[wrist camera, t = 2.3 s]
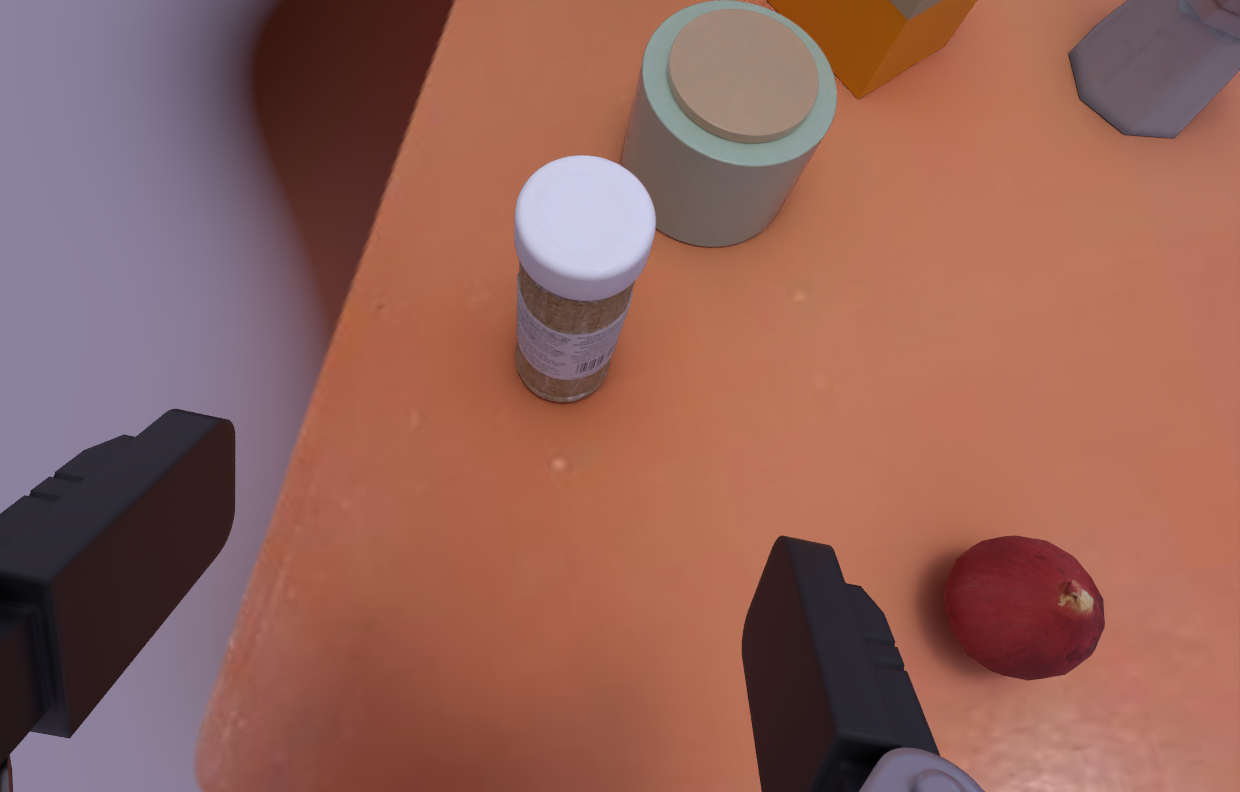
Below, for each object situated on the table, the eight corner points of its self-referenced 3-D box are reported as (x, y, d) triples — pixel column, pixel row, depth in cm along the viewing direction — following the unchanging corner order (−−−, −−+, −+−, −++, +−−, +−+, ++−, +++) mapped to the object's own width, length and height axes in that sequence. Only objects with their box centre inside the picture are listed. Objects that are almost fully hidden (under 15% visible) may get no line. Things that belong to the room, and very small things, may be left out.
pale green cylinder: (595, 208, 40) (614, 108, 33) (653, 79, 43) (682, -39, 36) (757, 272, 40) (813, 188, 33) (804, 139, 43) (864, 34, 36)
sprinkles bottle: (585, 304, 38) (622, 132, 26) (624, 385, 37) (682, 248, 25) (498, 336, 37) (492, 173, 25) (536, 421, 36) (549, 296, 23)
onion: (1030, 561, 37) (1162, 538, 30) (1029, 687, 35) (1170, 697, 28) (914, 536, 37) (1018, 507, 29) (907, 663, 35) (1017, 666, 27)
